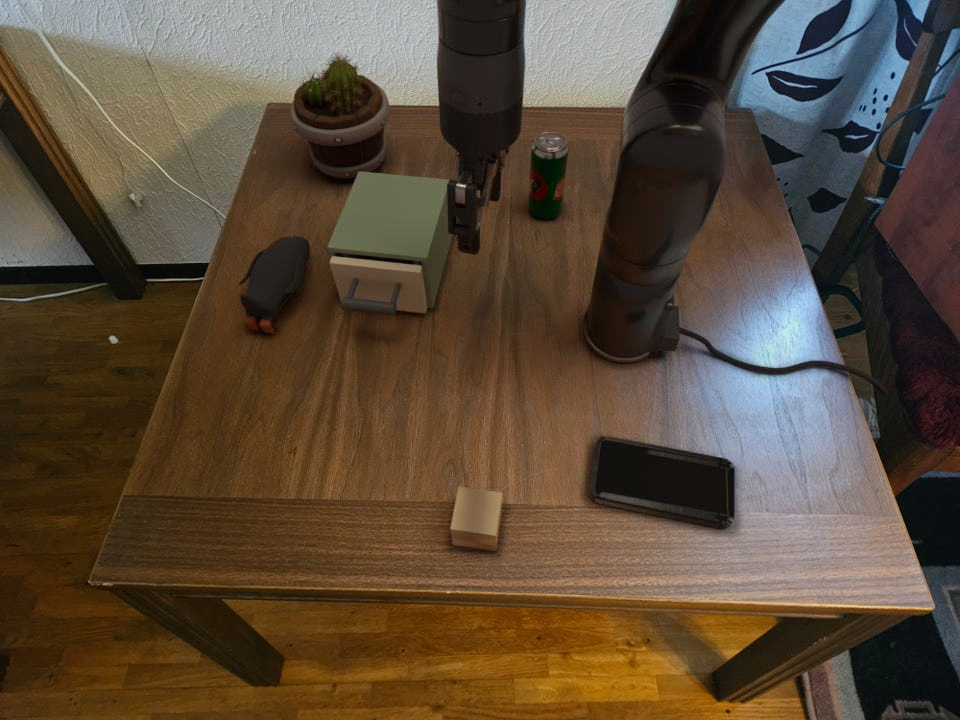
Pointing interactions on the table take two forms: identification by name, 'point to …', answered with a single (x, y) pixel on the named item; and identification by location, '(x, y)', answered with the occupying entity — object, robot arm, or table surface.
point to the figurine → (273, 280)
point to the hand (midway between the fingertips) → (480, 223)
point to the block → (476, 518)
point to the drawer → (379, 284)
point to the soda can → (547, 175)
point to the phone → (663, 482)
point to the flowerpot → (342, 120)
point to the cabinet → (397, 223)
